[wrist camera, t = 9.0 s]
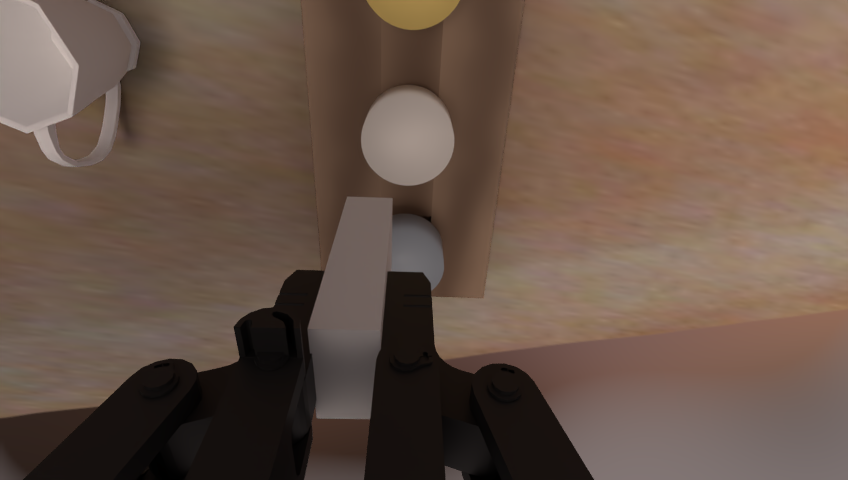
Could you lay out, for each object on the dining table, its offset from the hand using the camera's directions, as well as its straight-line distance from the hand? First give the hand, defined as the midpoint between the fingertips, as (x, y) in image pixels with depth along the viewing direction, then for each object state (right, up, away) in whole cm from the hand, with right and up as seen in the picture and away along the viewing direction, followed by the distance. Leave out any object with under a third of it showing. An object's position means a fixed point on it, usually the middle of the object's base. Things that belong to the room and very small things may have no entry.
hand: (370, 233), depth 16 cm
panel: (+1, +8, +15) cm, 17 cm away
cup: (-18, +11, +13) cm, 25 cm away
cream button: (+1, +8, +13) cm, 15 cm away
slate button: (+1, +1, +17) cm, 17 cm away
